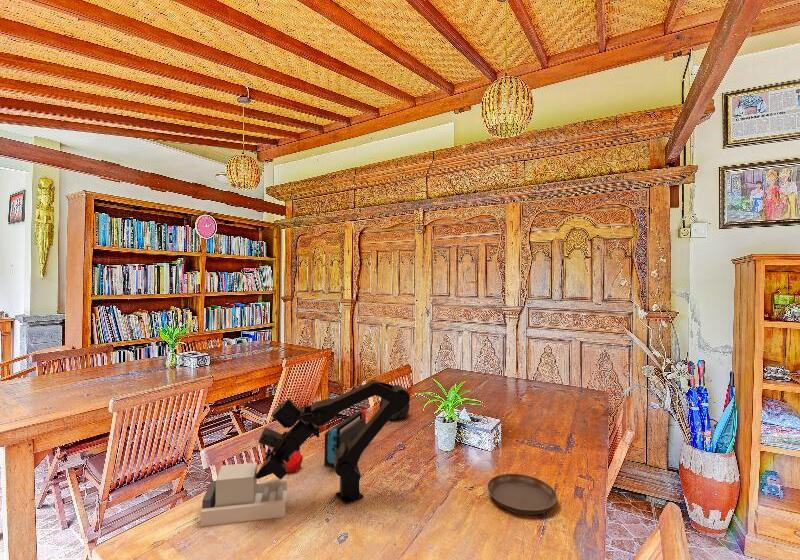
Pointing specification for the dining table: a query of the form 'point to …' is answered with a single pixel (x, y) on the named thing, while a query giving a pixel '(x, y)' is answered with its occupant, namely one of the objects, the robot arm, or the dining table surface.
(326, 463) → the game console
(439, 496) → the dining table surface
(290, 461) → the apple
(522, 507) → the plant saucer
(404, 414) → the squash
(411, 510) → the dining table surface
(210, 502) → the rubber stop
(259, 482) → the roller bed
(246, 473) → the beige block
